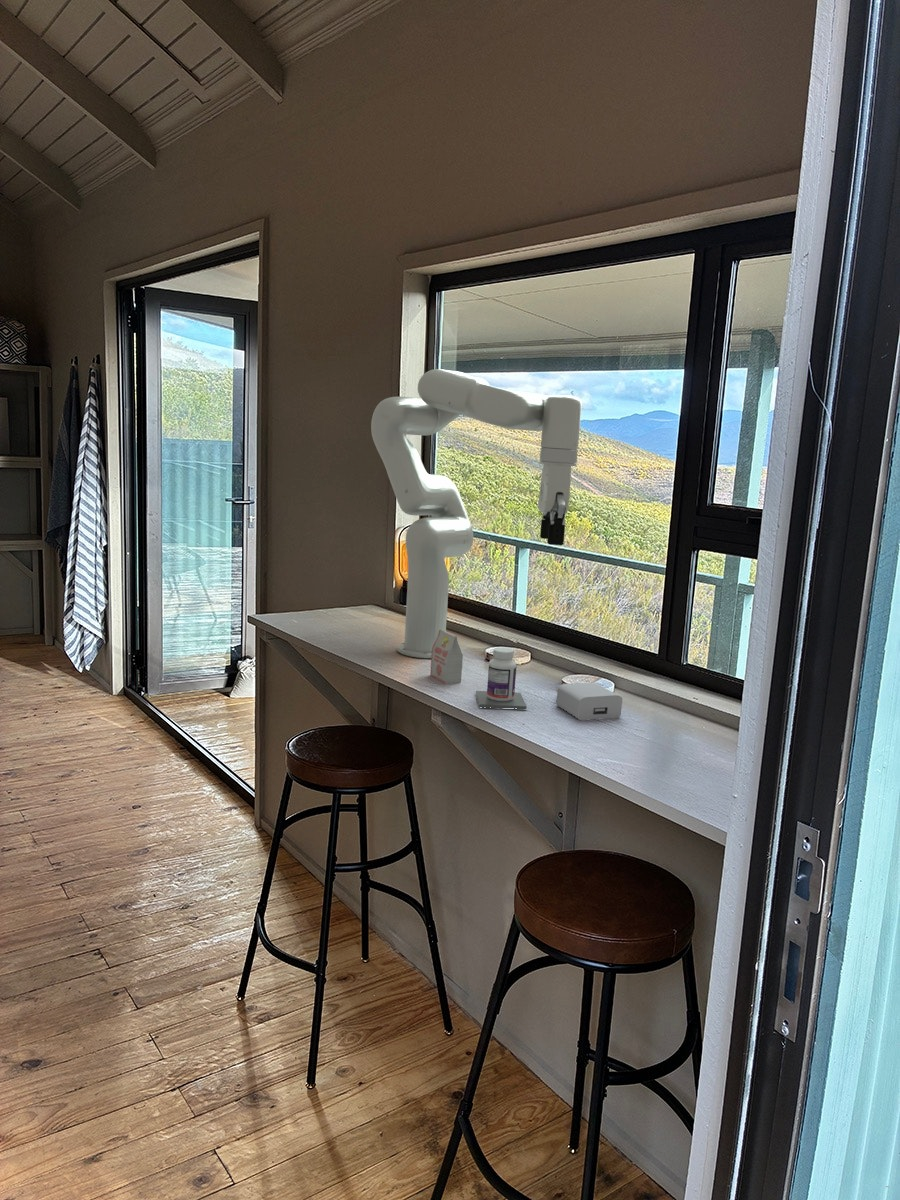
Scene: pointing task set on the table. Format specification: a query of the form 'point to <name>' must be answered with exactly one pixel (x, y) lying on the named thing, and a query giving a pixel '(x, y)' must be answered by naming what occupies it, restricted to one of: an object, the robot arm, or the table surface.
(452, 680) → the milk carton
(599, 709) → the charger
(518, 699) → the coaster
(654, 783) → the table surface
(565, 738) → the table surface
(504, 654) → the pill bottle
